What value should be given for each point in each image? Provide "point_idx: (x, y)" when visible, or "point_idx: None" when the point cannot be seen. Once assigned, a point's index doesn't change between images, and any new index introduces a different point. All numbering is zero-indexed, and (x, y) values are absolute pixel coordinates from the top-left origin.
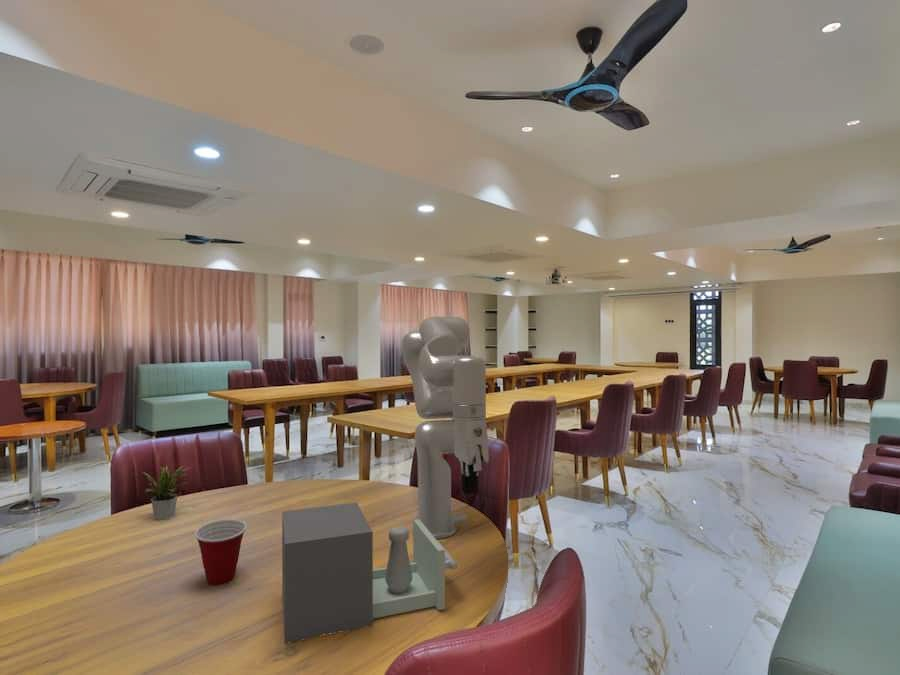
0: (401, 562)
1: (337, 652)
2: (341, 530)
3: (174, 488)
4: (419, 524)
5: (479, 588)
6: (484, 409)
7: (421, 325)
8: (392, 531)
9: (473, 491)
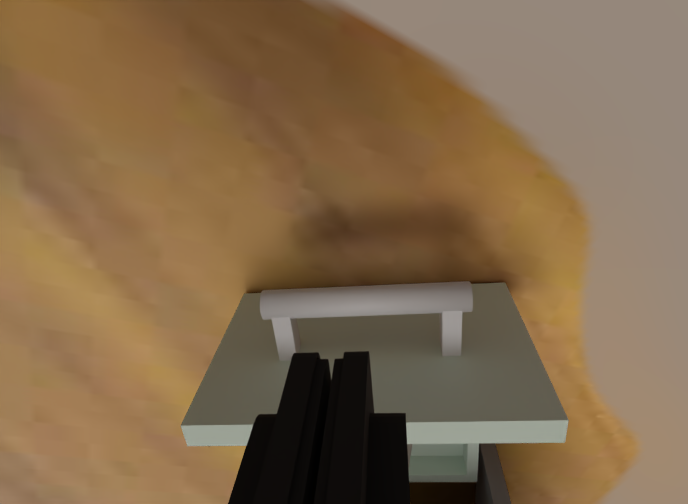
0: (409, 453)
1: (556, 495)
2: None
3: None
4: (247, 437)
5: (415, 135)
6: None
7: None
8: None
9: (370, 393)
